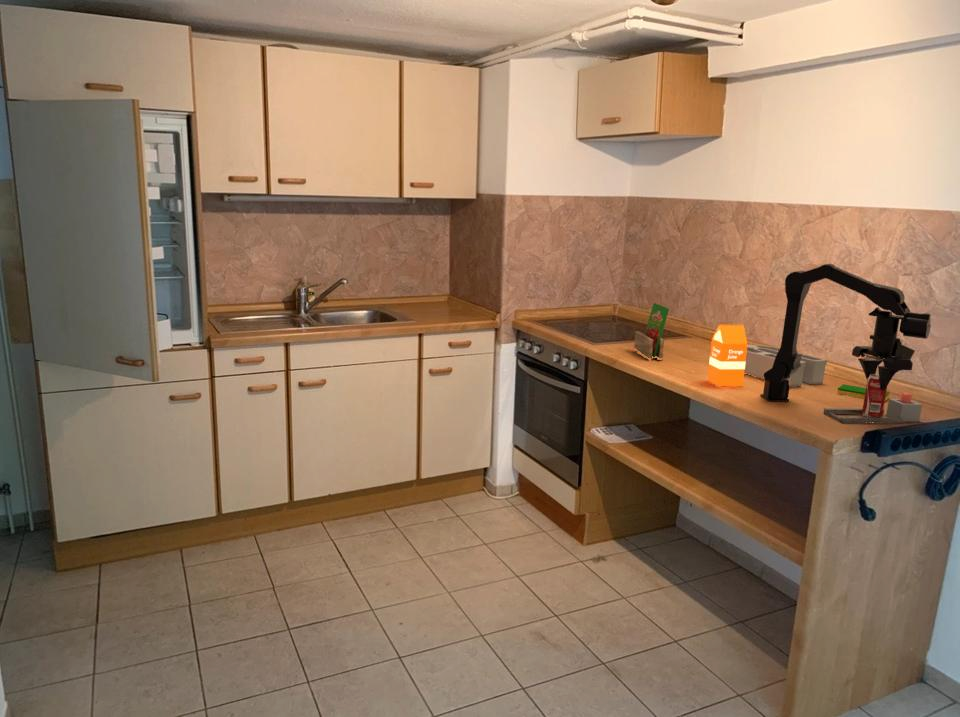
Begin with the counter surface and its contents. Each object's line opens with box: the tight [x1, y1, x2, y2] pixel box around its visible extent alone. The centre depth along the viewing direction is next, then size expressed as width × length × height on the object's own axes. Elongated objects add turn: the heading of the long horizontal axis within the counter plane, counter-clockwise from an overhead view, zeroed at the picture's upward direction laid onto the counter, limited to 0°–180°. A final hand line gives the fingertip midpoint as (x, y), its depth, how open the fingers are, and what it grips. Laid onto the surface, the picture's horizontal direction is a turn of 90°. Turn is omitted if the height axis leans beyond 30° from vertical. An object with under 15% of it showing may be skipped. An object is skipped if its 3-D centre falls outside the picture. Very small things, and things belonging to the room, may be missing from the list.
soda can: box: [861, 373, 888, 417], centre depth 211 cm, size 5×5×12 cm
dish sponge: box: [836, 384, 891, 402], centre depth 237 cm, size 7×14×2 cm, turn 51°
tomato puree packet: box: [643, 302, 670, 357], centre depth 283 cm, size 15×1×20 cm, turn 9°
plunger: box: [899, 392, 913, 403], centre depth 213 cm, size 3×3×5 cm
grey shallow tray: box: [823, 408, 904, 424], centre depth 212 cm, size 18×9×2 cm, turn 97°
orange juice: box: [707, 324, 749, 387], centre depth 244 cm, size 8×9×20 cm
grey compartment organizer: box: [744, 344, 828, 388], centre depth 259 cm, size 17×28×9 cm, turn 27°
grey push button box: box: [886, 398, 923, 422], centre depth 213 cm, size 6×6×5 cm
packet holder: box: [633, 330, 665, 359], centre depth 284 cm, size 5×17×8 cm, turn 7°
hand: (876, 387), depth 210 cm, fingers closed on soda can, 5 cm apart
